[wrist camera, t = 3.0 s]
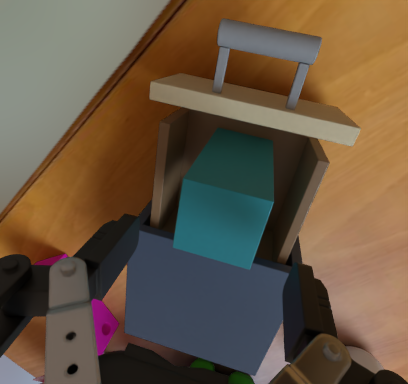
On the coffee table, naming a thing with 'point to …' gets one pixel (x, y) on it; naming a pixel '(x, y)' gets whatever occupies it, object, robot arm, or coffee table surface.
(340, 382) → the robot arm
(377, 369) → the teacup
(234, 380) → the piggy bank
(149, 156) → the coffee table surface
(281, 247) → the drawer
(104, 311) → the toy block
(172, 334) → the cabinet
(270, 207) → the block
